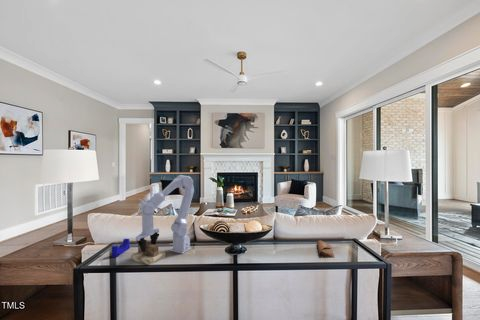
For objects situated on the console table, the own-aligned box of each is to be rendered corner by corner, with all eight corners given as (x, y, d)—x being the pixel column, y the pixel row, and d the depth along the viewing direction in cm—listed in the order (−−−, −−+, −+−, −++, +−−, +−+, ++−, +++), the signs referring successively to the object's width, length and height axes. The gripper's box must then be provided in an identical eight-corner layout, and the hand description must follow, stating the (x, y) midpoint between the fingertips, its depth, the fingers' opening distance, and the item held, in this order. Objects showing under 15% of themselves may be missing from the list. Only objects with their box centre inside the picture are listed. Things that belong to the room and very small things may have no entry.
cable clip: (122, 248, 146) (122, 238, 146) (129, 248, 146) (129, 238, 145) (109, 257, 134) (109, 246, 134) (116, 257, 134) (116, 246, 134)
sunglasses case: (335, 258, 132) (329, 247, 132) (324, 263, 133) (317, 252, 134) (330, 245, 149) (325, 235, 150) (320, 250, 151) (314, 240, 151)
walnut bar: (158, 254, 131) (158, 245, 131) (154, 256, 129) (154, 247, 128) (142, 250, 136) (142, 241, 136) (138, 252, 134) (137, 243, 134)
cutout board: (165, 256, 134) (165, 252, 134) (150, 265, 125) (150, 260, 124) (147, 251, 141) (147, 247, 140) (131, 259, 131) (131, 255, 131)
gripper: (152, 220, 140) (153, 243, 141) (131, 227, 127) (132, 253, 128) (161, 221, 137) (162, 245, 137) (141, 229, 124) (141, 255, 124)
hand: (148, 249), depth 132 cm, fingers open, 6 cm apart
